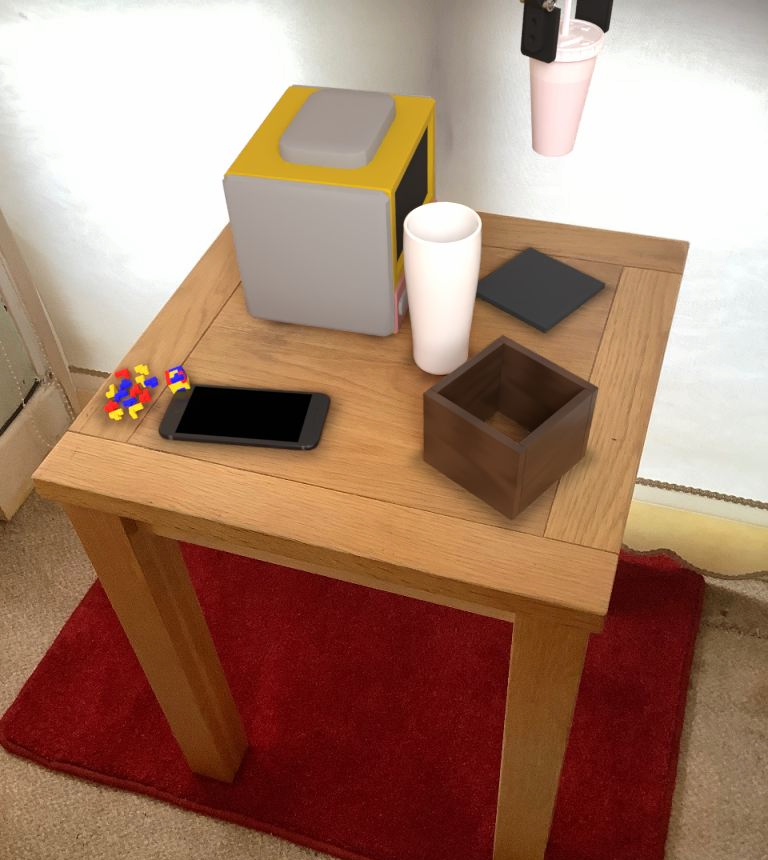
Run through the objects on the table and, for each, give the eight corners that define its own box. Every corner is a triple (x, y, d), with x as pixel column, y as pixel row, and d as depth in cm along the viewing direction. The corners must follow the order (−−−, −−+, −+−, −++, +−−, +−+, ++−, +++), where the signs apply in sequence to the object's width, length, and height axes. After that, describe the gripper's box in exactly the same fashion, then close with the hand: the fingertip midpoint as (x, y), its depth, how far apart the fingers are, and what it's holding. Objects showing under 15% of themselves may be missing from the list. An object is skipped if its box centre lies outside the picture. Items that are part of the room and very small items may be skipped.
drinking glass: (399, 378, 83) (394, 240, 72) (414, 333, 88) (412, 197, 76) (468, 387, 82) (475, 249, 71) (480, 342, 86) (488, 204, 75)
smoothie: (510, 160, 77) (523, -14, 67) (524, 126, 81) (538, -43, 71) (583, 168, 76) (608, -8, 65) (593, 133, 80) (618, -38, 69)
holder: (585, 456, 76) (599, 387, 70) (512, 520, 72) (519, 453, 65) (497, 402, 81) (502, 334, 74) (423, 460, 76) (422, 392, 70)
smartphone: (179, 386, 84) (177, 379, 83) (333, 397, 82) (332, 390, 81) (156, 441, 79) (153, 434, 78) (317, 455, 77) (316, 448, 76)
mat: (604, 288, 91) (605, 283, 91) (545, 333, 87) (545, 328, 86) (529, 251, 96) (529, 247, 95) (469, 292, 92) (469, 288, 91)
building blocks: (105, 422, 80) (114, 434, 81) (185, 391, 80) (193, 403, 81) (101, 377, 84) (110, 389, 85) (177, 347, 84) (185, 359, 85)
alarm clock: (398, 357, 85) (392, 182, 71) (247, 335, 88) (212, 163, 74) (442, 245, 97) (444, 77, 83) (307, 230, 100) (288, 64, 86)
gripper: (563, -205, 53) (535, 93, 66) (716, -257, 60) (662, 21, 74) (469, -221, 56) (461, 66, 70) (625, -267, 64) (590, 0, 77)
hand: (565, 41), depth 72 cm, fingers closed on smoothie, 6 cm apart
